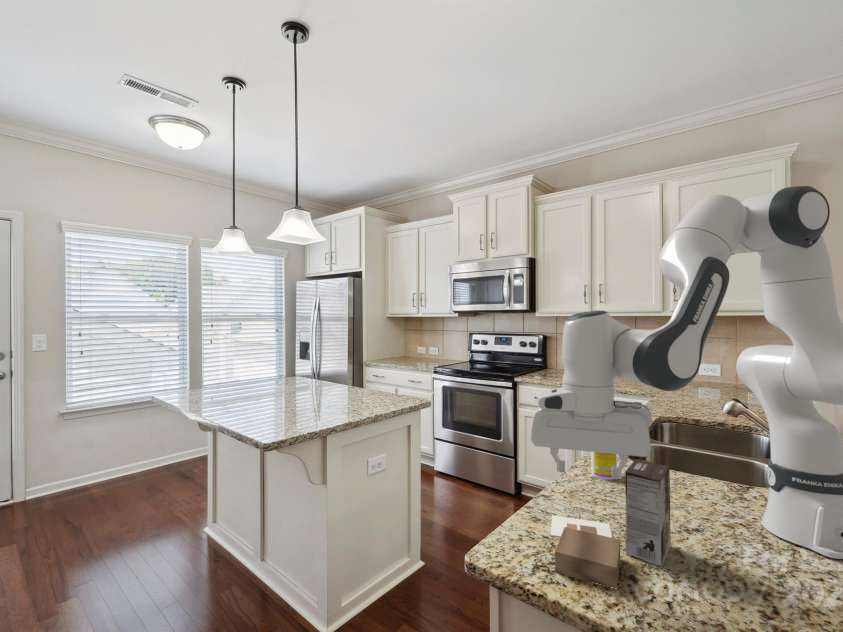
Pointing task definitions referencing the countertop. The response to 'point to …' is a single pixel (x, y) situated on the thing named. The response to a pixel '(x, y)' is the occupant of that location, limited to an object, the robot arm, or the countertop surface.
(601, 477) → the supplement bottle
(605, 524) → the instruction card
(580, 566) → the base block
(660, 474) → the coffee box
